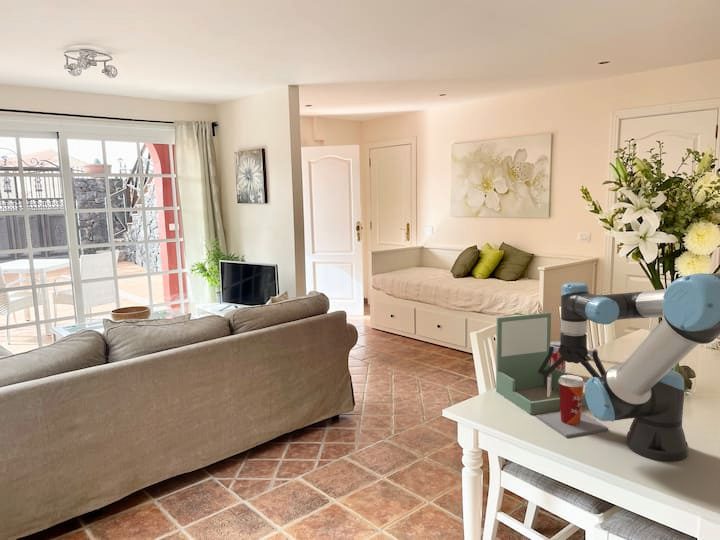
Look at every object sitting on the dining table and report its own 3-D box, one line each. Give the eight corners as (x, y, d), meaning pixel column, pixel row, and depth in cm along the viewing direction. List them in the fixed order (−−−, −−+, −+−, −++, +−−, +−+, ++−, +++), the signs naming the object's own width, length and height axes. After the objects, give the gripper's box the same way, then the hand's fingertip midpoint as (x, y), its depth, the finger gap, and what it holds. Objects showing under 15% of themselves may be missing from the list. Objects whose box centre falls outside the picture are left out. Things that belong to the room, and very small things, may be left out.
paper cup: (580, 428, 157) (581, 384, 155) (554, 422, 162) (554, 379, 160) (586, 419, 163) (587, 376, 162) (561, 414, 168) (562, 372, 166)
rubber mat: (608, 430, 157) (608, 427, 157) (565, 437, 153) (566, 435, 153) (575, 411, 172) (575, 409, 172) (536, 417, 168) (536, 415, 168)
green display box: (587, 406, 176) (589, 325, 172) (530, 414, 170) (531, 332, 166) (547, 384, 197) (549, 312, 193) (496, 391, 191) (496, 317, 187)
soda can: (567, 372, 209) (567, 341, 207) (563, 378, 203) (563, 346, 201) (548, 370, 213) (549, 339, 211) (544, 375, 207) (545, 343, 205)
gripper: (619, 334, 156) (617, 401, 158) (534, 326, 168) (533, 388, 171) (618, 340, 149) (615, 410, 152) (529, 331, 162) (528, 396, 164)
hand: (571, 399), depth 161 cm, fingers open, 13 cm apart
